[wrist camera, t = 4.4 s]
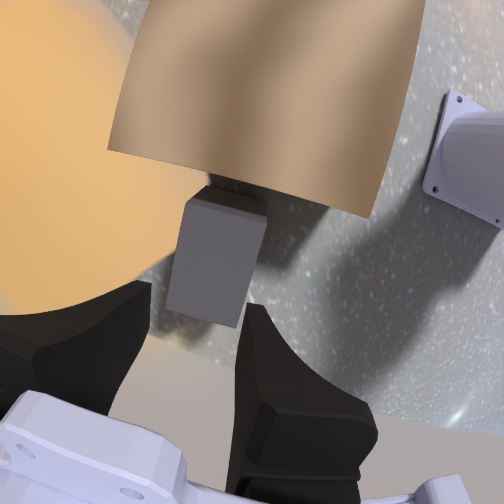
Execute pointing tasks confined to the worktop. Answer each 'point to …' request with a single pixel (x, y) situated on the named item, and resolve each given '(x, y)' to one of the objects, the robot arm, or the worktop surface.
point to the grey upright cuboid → (216, 255)
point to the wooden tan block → (272, 92)
